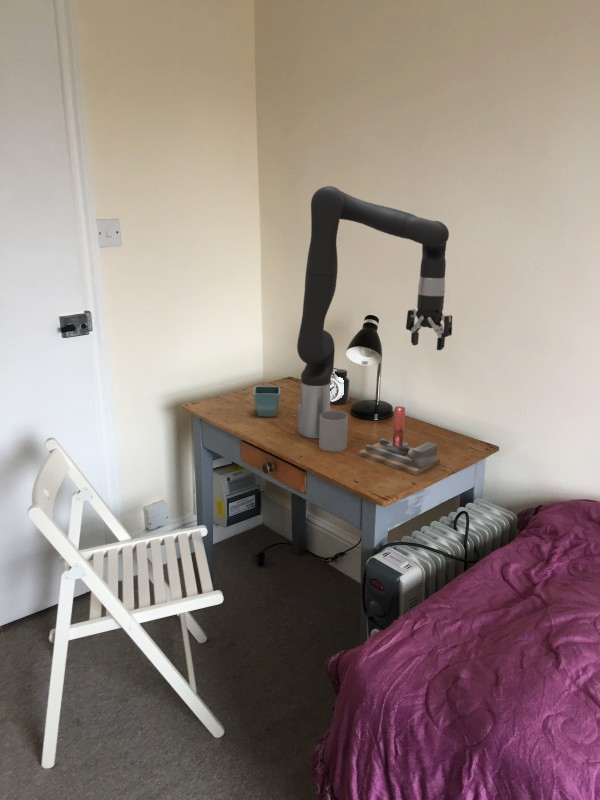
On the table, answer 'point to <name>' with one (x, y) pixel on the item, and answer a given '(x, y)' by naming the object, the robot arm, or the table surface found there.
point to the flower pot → (266, 400)
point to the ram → (398, 433)
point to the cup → (333, 431)
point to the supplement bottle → (343, 375)
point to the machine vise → (409, 462)
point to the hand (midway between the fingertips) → (427, 347)
